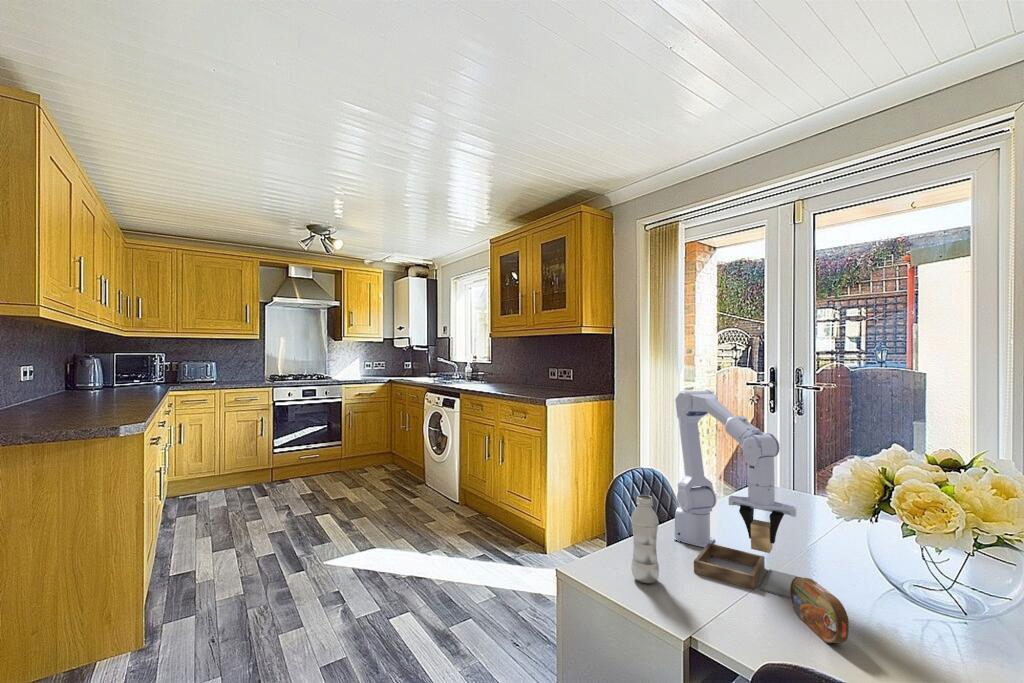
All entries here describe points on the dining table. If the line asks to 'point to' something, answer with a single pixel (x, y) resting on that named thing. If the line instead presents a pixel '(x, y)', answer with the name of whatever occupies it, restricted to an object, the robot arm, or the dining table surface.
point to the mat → (778, 583)
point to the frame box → (727, 573)
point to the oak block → (761, 536)
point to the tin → (819, 610)
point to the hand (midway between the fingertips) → (762, 539)
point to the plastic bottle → (644, 541)
